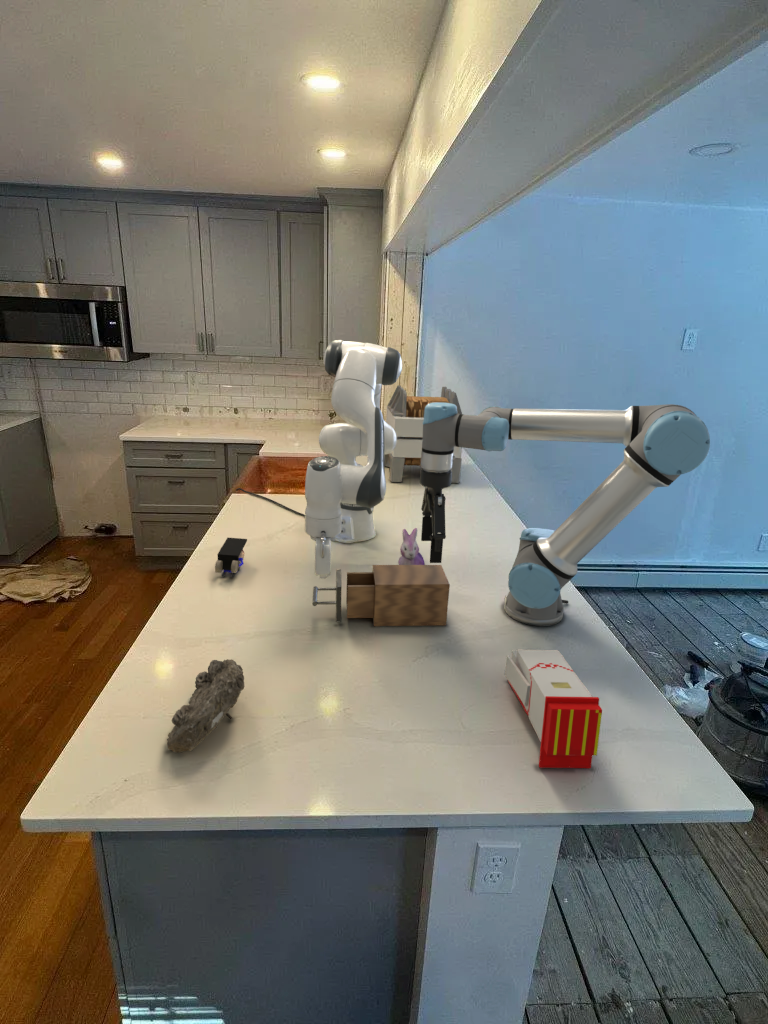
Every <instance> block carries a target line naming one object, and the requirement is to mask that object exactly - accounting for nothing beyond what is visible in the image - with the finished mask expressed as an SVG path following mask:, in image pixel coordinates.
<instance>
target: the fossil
mask: <svg viewBox="0 0 768 1024" xmlns="http://www.w3.org/2000/svg"><path fill="white" fill-rule="evenodd" d="M243 670H244V669H243V667H242V665H240V664H237V662H236V661H235V660H234V659H232V658H231V659H227V658H226V659H224V660H223V661H222V660H217V659H212V660H211V661H210V663H209V665H208V666H207V671H201V672H199V673H198V674H197V675H196V676H195V680H194V684H195V685H194V687H195V689H194V690H193V693H192V694H191V697H190V698H189V700H188V704H184V705H182V706H181V707H180V709H177V710H176V711H175V713H174V715H173V716H172V718H171V723H172V724H173V727H172V730H171V731H170V732H168V734H167V738H166V741H167V742H166V745H167V749H168V750H169V751H173V752H174V753H176V754H178V753H182V752H188V751H189V752H192V751H193V750H195V748H196V747H197V746H199V744H200V743H201V742H203V741H204V740H205V739H206V738H207V737H208V736H209V735H210V734H211V733H212V732H214V730H215V729H217V727H218V726H219V724H220V722H221V721H222V720H223V719H224V718H225V716H226V717H227V719H229V720H233V717H232V715H230V714H229V710H230V709H231V708H234V706H235V704H236V703H237V702H238V699H239V697H240V695H241V693H242V691H243V690H245V689H244V688H245V675H244V671H243Z"/></svg>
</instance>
